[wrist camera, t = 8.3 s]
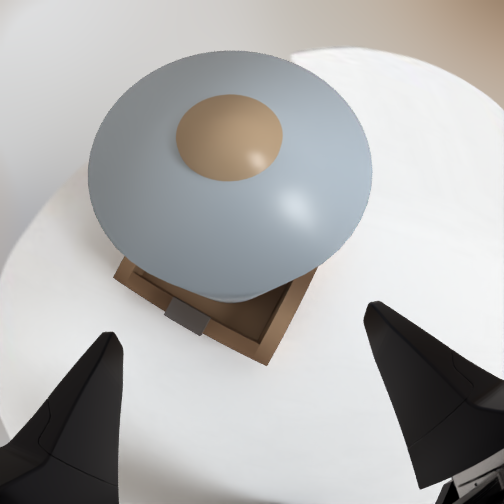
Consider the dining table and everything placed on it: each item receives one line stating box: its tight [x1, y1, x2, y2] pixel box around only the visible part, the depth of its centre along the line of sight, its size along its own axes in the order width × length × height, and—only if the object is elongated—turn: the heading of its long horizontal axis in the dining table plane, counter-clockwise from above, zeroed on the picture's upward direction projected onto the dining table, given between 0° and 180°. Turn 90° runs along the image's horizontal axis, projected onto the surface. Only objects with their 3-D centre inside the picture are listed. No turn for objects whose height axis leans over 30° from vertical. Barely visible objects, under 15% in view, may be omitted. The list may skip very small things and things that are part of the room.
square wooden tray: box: [113, 256, 317, 366], centre depth 18 cm, size 11×11×4 cm
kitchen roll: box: [88, 51, 372, 303], centre depth 12 cm, size 7×7×13 cm
